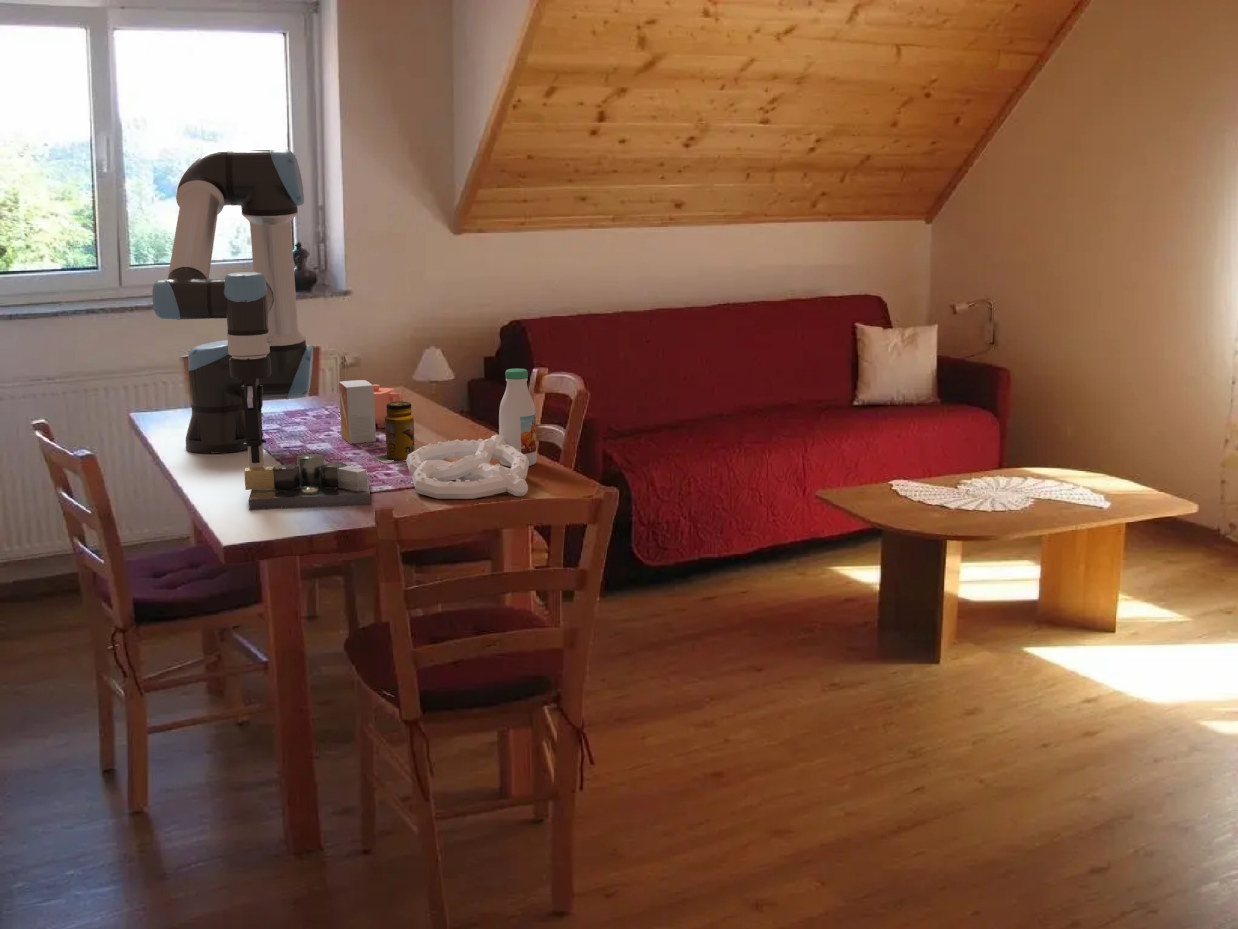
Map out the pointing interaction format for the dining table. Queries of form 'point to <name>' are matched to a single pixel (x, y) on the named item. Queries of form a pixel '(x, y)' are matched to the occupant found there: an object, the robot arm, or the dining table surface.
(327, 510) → the dining table surface
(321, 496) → the base plate
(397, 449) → the condiment
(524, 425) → the milk bottle
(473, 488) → the pretzel
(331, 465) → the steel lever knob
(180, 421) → the dining table surface
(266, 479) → the brass lever knob
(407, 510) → the dining table surface
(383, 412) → the teapot
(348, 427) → the small box
